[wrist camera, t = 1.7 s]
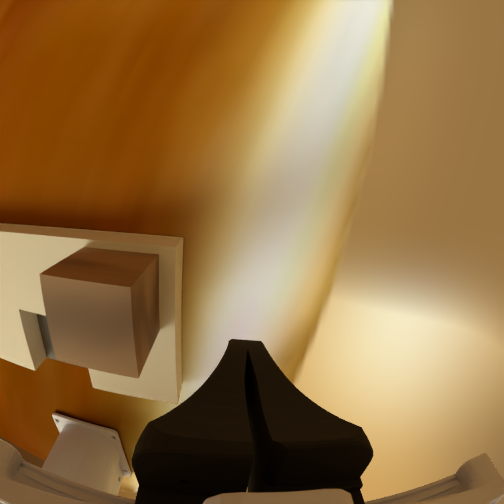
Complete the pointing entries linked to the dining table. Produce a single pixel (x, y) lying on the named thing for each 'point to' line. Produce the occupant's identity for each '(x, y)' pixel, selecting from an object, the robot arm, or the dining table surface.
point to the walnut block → (103, 309)
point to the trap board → (33, 311)
